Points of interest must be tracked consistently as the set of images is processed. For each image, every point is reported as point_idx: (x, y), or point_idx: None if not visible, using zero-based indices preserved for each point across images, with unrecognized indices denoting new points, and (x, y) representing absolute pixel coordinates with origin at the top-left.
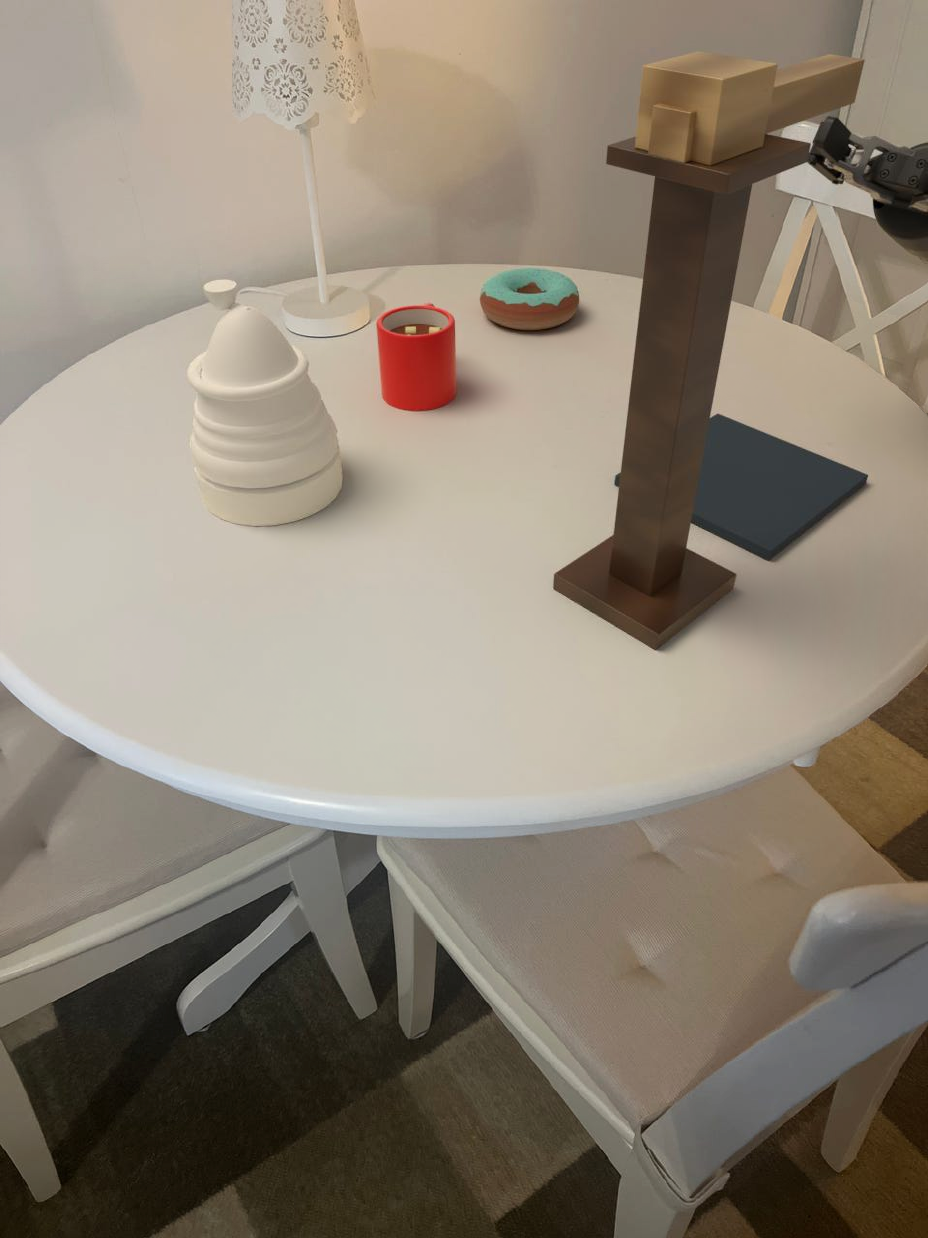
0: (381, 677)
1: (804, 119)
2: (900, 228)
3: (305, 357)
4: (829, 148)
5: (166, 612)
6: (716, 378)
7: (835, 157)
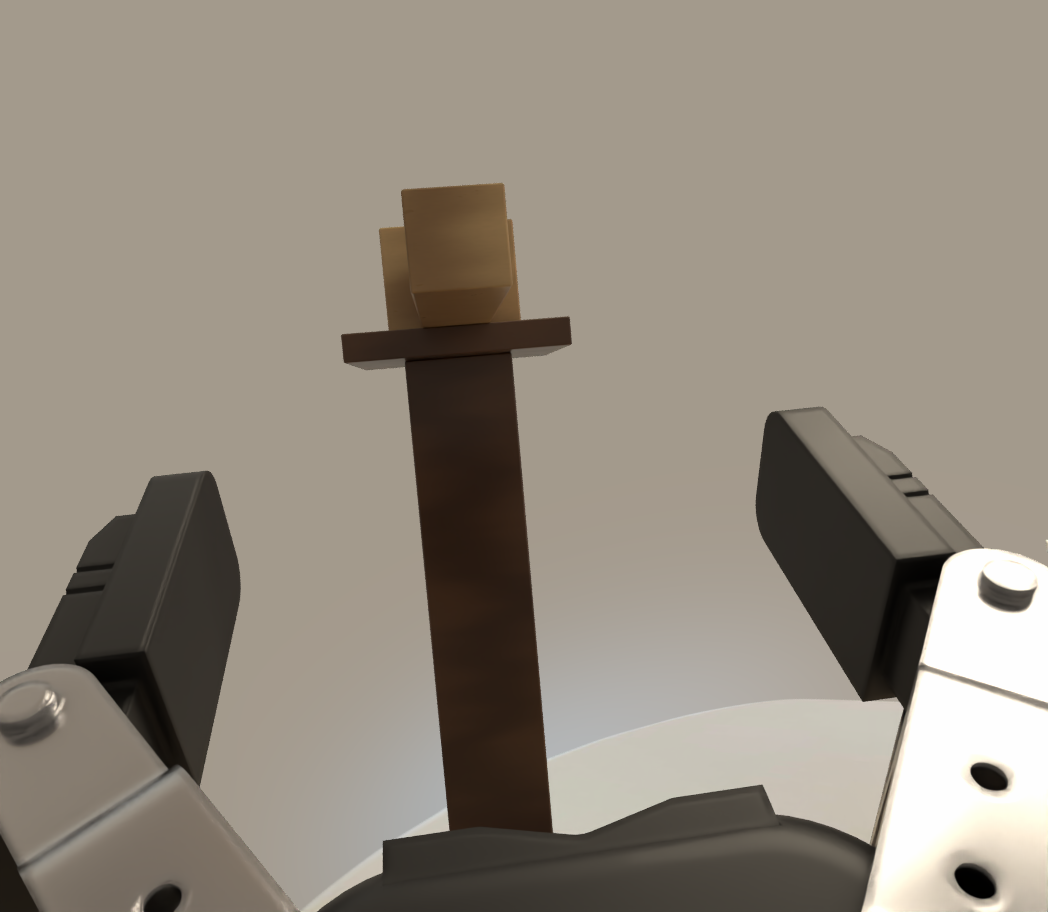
0: (599, 826)
1: (418, 315)
2: None
3: None
4: (782, 555)
5: (801, 752)
6: (437, 703)
7: (830, 641)
